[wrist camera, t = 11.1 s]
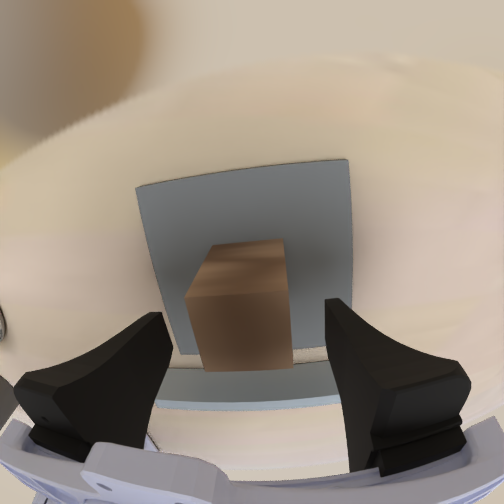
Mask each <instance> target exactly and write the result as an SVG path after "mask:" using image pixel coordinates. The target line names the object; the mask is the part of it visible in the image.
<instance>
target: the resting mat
mask: <svg viewBox="0 0 504 504" xmlns="http://www.w3.org/2000/svg"><path fill="white" fill-rule="evenodd" d="M135 190H136V195H137V199H138V204H139V209H140V214H141V218H142V223H143V227H144V231H145V235H146V240H147V244H148V248H149V252H150V256H151V259H152V263H153V267H154V271H155V274H156V278H157V281H158V285H159V289H160V292H161V295H162V299H163V302H164V305H165V309H166V312H167V315H168V318H169V321H170V324H171V328H172V331H173V334H174V337H175V340H176V342H177V345H178V348H179V351H180V354H181V355H198V354H200V353H199V350H198V346H197V343H196V340H195V336H194V333H193V329H192V325H191V322H190V318H189V314H188V311H187V307H186V303H185V299H184V297H185V295H186V293H187V291H188V289H189V287H190V286H191V284H192V282H193V280H194V278H195V276H196V274H197V272H198V271H199V269H200V267H201V265H202V263H203V261H204V260H205V258H206V256H207V254H208V252H209V250H210V249H211V247H212V245H218V244H229V243H239V242H249V241H259V240H270V239H280V238H283V245H284V253H285V263H286V272H287V282H288V292H289V305H290V319H291V334H292V350H293V349H303V348H313V347H322V346H326V342H325V300H324V299H331V298H340V299H341V300H342V301H343V302H344V303H345V304H346V305H347V306H348V307H349V308H351V309H352V271H353V248H352V210H351V190H350V175H349V162H348V160H346V159H342V160H327V161H313V162H301V163H291V164H281V165H271V166H263V167H254V168H246V169H239V170H231V171H224V172H218V173H211V174H205V175H199V176H193V177H187V178H181V179H176V180H170V181H165V182H160V183H155V184H150V185H145V186H140V187H137V188H135Z"/></svg>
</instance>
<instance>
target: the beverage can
mask: <svg viewBox="0 0 504 504" xmlns="http://www.w3.org/2000/svg"><path fill="white" fill-rule="evenodd" d="M4 332H5V323H4V319H3V316H2V313H1V311H0V342H1V341H2V339H3V337H4Z"/></svg>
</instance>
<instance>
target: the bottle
mask: <svg viewBox="0 0 504 504" xmlns="http://www.w3.org/2000/svg"><path fill="white" fill-rule="evenodd" d="M18 405H19V403H18V401H17V400H16V398H15V395H14V391H13V387H12V386H11V385H10V384H9V383H8V382H7V381H6V380H5V379H4V378H2V377H1V376H0V430H1V429H2V427H3V426H4V424H5V423H6V422H7V420H8V419H9V417H10V416H11V415H12V413H13V412H14V410H15V409H16V407H17V406H18Z"/></svg>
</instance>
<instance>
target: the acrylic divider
mask: <svg viewBox="0 0 504 504" xmlns="http://www.w3.org/2000/svg"><path fill="white" fill-rule="evenodd" d="M155 403H156V405H157V407H158V408H167V409H181V410H200V411H260V410H279V409H293V408H304V407H313V406H322V405H330V404H337V403H341V400H340V395H339V392H338V389H337V385H336V382H335V379H334V375H333V372H332V369H331V365H330V362H329V361H321V362H312V363H303V364H293V368H291V369H278V370H262V371H237V372H205V370H204V369H182V368H168V369H167V372H166V374H165V377H164V379H163V382H162V384H161V387H160V389H159V391H158V394H157V396H156V399H155Z"/></svg>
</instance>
